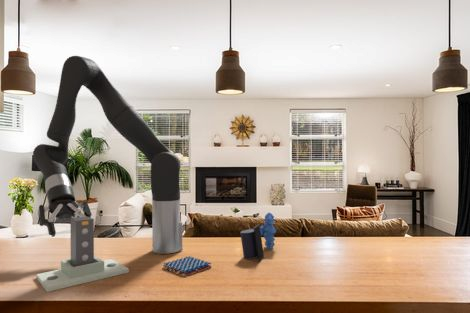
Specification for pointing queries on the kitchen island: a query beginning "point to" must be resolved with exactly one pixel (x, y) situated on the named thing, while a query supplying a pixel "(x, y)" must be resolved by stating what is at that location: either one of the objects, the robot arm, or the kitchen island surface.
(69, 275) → the bracket
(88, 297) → the kitchen island surface
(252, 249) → the speaker
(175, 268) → the woven mat
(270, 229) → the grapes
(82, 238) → the tall grey pillar
